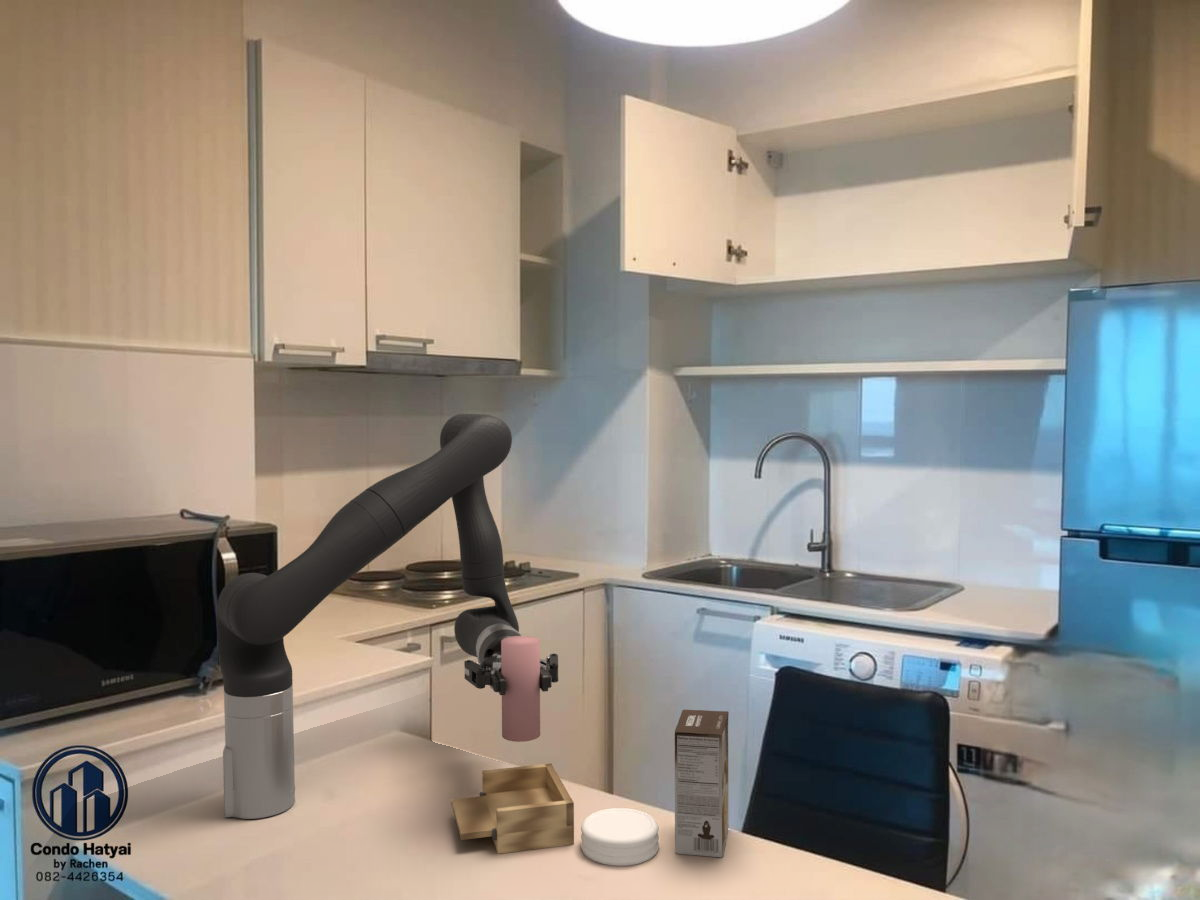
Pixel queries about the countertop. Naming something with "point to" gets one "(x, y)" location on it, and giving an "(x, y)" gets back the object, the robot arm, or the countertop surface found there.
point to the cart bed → (518, 809)
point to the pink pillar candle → (521, 688)
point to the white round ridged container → (619, 836)
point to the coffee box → (701, 783)
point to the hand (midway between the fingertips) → (524, 685)
